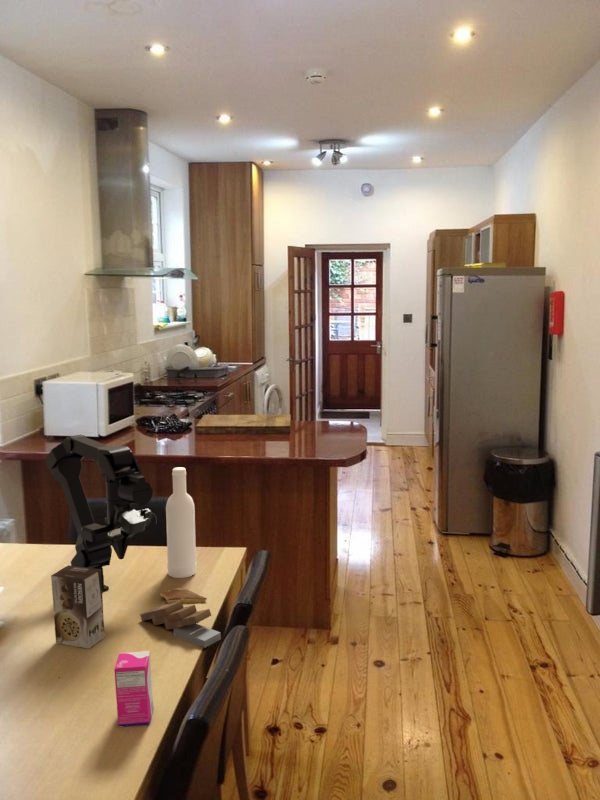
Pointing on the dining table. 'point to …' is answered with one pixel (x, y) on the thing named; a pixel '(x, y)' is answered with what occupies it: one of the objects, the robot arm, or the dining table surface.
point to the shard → (182, 596)
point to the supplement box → (134, 688)
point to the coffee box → (78, 606)
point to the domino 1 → (161, 611)
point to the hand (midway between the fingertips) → (121, 558)
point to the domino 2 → (175, 615)
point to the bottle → (180, 528)
